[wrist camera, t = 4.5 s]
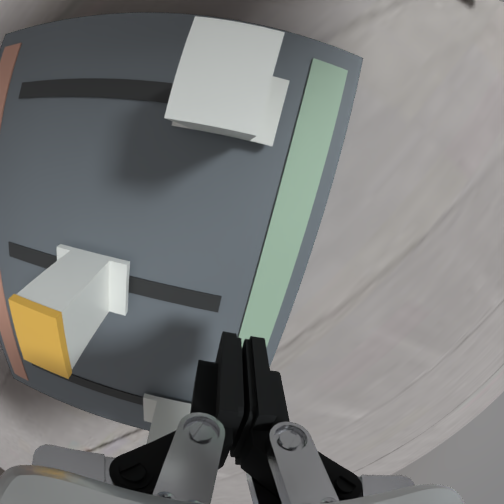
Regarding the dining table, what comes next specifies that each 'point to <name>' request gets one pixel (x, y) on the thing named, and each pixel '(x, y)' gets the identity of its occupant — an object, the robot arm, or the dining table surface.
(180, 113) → the block
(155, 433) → the breaker handle
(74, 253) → the block
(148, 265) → the breaker panel
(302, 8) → the dining table surface
